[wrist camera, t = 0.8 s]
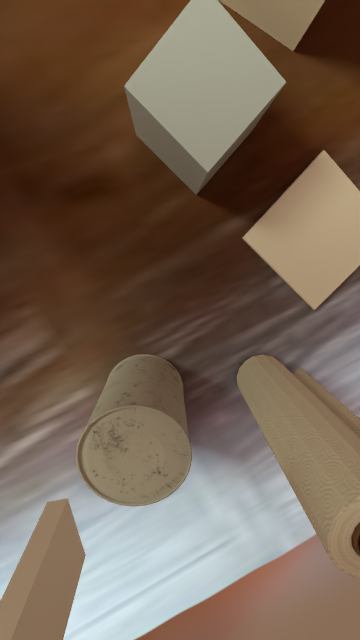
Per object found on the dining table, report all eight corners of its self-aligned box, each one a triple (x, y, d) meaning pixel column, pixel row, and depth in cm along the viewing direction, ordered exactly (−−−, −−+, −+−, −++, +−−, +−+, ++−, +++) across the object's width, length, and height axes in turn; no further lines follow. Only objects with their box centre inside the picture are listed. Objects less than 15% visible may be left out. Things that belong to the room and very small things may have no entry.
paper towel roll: (227, 388, 37) (308, 566, 16) (249, 346, 35) (366, 477, 15) (277, 408, 38) (416, 601, 17) (300, 367, 36) (479, 520, 16)
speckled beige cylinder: (176, 347, 35) (181, 395, 23) (189, 417, 37) (200, 495, 25) (97, 361, 35) (62, 417, 23) (115, 431, 37) (91, 515, 25)
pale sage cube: (136, 135, 30) (124, 86, 21) (192, 66, 29) (203, -16, 20) (196, 195, 31) (207, 172, 23) (251, 131, 30) (286, 82, 22)
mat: (241, 238, 33) (243, 237, 32) (321, 151, 31) (324, 149, 30) (312, 309, 35) (314, 309, 34) (389, 231, 33) (393, 231, 33)
